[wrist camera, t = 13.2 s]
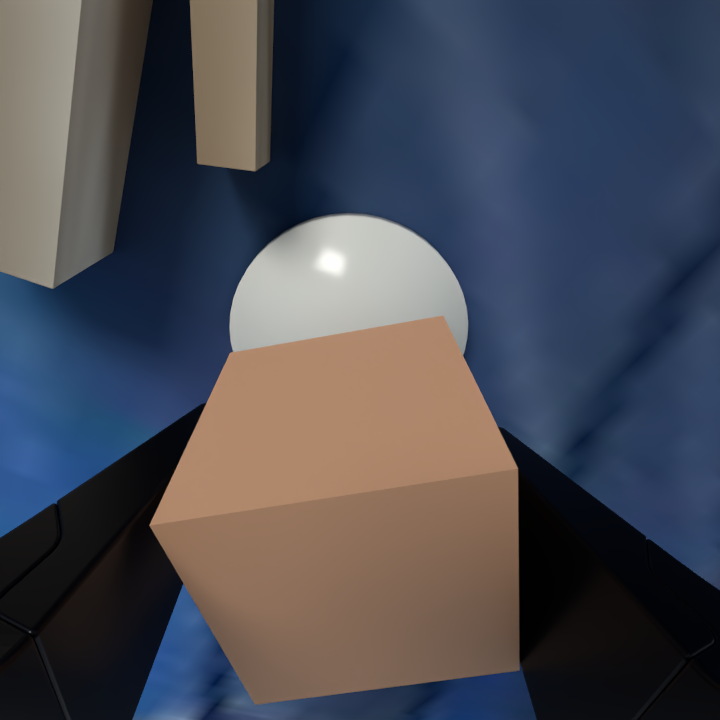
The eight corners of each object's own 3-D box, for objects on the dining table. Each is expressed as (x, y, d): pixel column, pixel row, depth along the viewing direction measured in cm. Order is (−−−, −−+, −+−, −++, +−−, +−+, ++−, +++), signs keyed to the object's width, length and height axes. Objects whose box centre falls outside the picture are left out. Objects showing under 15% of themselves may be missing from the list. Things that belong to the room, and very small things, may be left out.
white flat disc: (489, 229, 12) (495, 234, 12) (437, 429, 16) (440, 440, 15) (232, 197, 12) (227, 201, 11) (235, 413, 15) (231, 424, 15)
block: (443, 315, 9) (518, 468, 5) (458, 476, 11) (519, 670, 7) (230, 352, 9) (149, 525, 5) (284, 503, 12) (255, 704, 8)
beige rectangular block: (175, -111, 9) (101, -210, 6) (116, 250, 13) (52, 288, 10) (4, -204, 8) (-163, -359, 6) (-9, 205, 12) (-115, 233, 9)
